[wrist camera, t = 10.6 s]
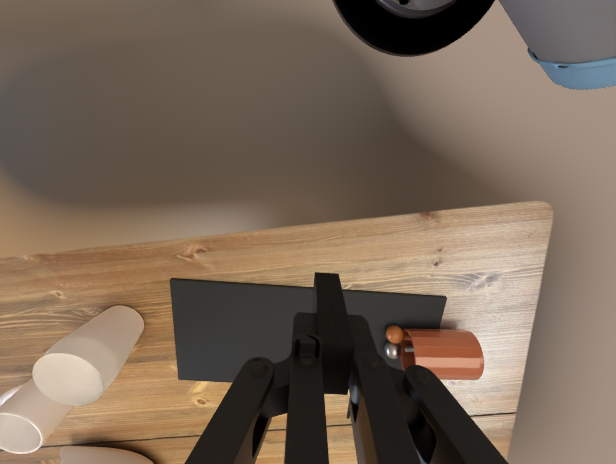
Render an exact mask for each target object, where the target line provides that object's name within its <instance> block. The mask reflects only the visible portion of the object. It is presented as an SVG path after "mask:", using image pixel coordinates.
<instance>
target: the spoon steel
mask: <svg viewBox="0 0 616 464" xmlns="http://www.w3.org/2000/svg"><path fill="white" fill-rule="evenodd" d="M384 350H385V353H386V355H387V356H388V357H390V358H392V359H396V358H398V357H400V356H401V354H402V348H401V345H400V344H399V343H397V344H395V343H391V342H390V341H389V342H387V343H386V344H385V347H384ZM404 351H405V352H414V347H413V346H405V347H404Z"/></svg>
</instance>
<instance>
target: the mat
mask: <svg viewBox="0 0 616 464" xmlns="http://www.w3.org/2000/svg"><path fill="white" fill-rule="evenodd" d="M170 286H171V298H172V309H173V321H174V332H175V344H176V356H177V367H178V379H179V380H195V381H214V382H232V383H233V382H234V380H235V378H236V377H237V375H238V373H239V372H240V370H241V368H242V366H243V365H244V364H245V363H246V362H247V361H248V360H250V359H251V358H255V357H265V358H267V359H269V360H270V361H271V362H272V363H278V362H281V361H283V360H285V359H286V358H288V357H289V355H290V354H291V348H292V333H293V319H294V316H295V315H296V314H297V312H306V313H312V299H313V288H312V287H297V286H282V285H267V284H251V283H236V282H221V281H206V280H190V279H175V278H171V279H170ZM342 292H343V296H344V300H345V305H346V309H347V313H348V314H350V315H362V316H363V317H364V318H365V319H366V320H367V321H368V324H369V327H370V330H371V335H372V337H373V340H374V343H375V346H376V349H377V352H378V354H379V355H381V356H382V357H383V358H384V360H385V361H386V364H388V365H389V366H391V367H394V368H396V369H400V370H403V368H402V364H401V360H400V357H398V358H396V359H392V358H390V357H388V356H387V355H386V353H385V350H384V347H385V344H386V343H387V342H389V340H388V339H387V337H386V330H387V328H388V327H389V326H392V325H396V326H398V327H400V328H401V329H402V330H403V329H439V326H440V322H441V318H442V315H443V311H444V307H445V304H446V300H447V298H446V296H434V295H419V294H404V293H388V292H373V291H358V290H343V289H342ZM403 371H404V370H403ZM348 389H349V387H348Z"/></svg>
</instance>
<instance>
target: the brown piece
mask: <svg viewBox="0 0 616 464" xmlns="http://www.w3.org/2000/svg"><path fill="white" fill-rule="evenodd" d="M386 337H387V339H388V340H389V341H390V342H391V343H395V344H397V343H400V342H401V341H402V340H403V337H404V339H405V340H408V341H412V340H411V337H410V336H409V335H407V334H406V335H404V334H403V331H402V329H401V328H400V327H398V326H396V325H392V326H389V327H388V328H387V330H386Z"/></svg>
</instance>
